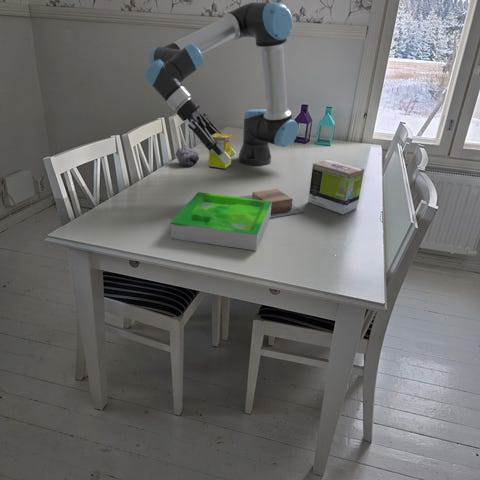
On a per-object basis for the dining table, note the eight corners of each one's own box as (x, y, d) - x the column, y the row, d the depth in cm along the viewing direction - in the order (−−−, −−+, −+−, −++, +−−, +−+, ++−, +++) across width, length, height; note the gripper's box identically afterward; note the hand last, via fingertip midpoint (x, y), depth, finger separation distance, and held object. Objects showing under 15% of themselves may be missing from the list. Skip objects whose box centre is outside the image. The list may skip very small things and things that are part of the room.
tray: (270, 215, 138) (271, 201, 136) (255, 250, 116) (257, 234, 114) (198, 205, 143) (198, 192, 140) (171, 238, 121) (170, 222, 119)
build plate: (235, 198, 151) (235, 186, 149) (272, 192, 158) (273, 181, 156) (263, 219, 136) (264, 207, 134) (303, 212, 143) (305, 200, 141)
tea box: (357, 208, 149) (365, 168, 142) (342, 215, 142) (349, 174, 136) (322, 196, 158) (328, 157, 151) (306, 202, 152) (312, 162, 145)
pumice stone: (196, 173, 181) (200, 160, 189) (196, 158, 176) (200, 145, 183) (173, 170, 182) (178, 158, 189) (171, 155, 176) (177, 143, 184)
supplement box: (231, 165, 146) (232, 134, 141) (225, 170, 141) (226, 138, 136) (215, 163, 147) (215, 132, 142) (208, 168, 142) (209, 136, 137)
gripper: (185, 107, 147) (229, 157, 152) (165, 117, 130) (215, 173, 135) (200, 92, 144) (244, 144, 148) (181, 101, 127) (231, 159, 132)
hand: (230, 158), depth 142 cm, fingers closed on supplement box, 6 cm apart
